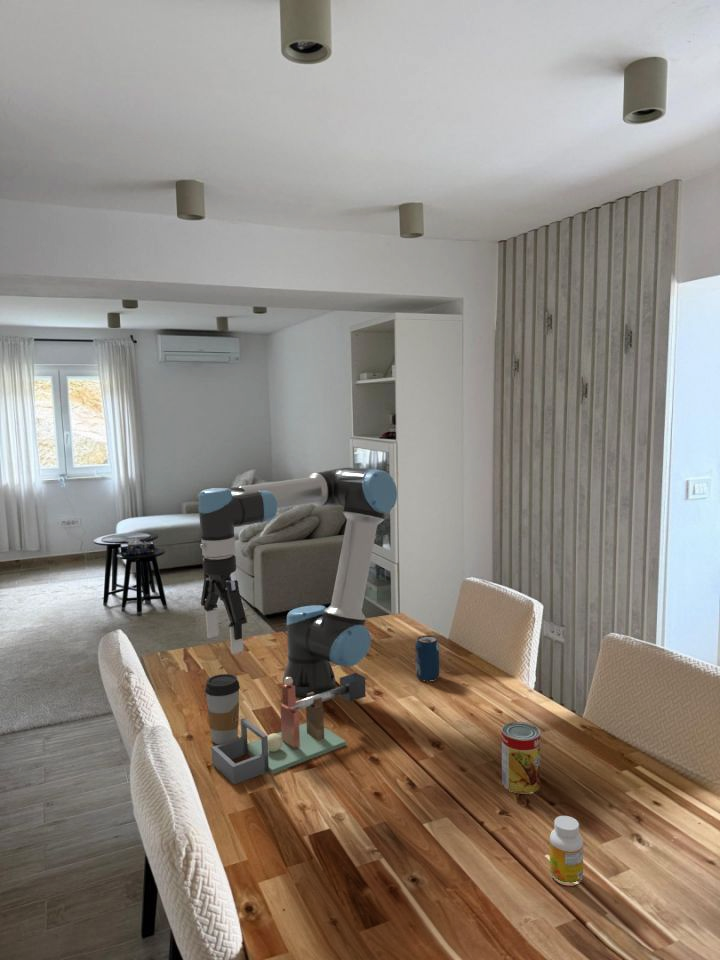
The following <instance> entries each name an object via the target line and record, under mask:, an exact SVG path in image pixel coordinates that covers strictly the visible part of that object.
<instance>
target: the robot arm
mask: <svg viewBox="0 0 720 960" xmlns="http://www.w3.org/2000/svg"><path fill="white" fill-rule="evenodd" d="M397 499H398V490H397V485H396V483H395V481H394V478H393V477H392V476H391V474H390V473H388V472H387V471H384V470H380V469H376V468H360V467H359V468H356V467H340V468H339V467H338V468H334V469H330V470H326V471H325V470H324V471H319V472H313V473H311V474H309V476H308V477H302V478H301V477H300V478H296V479H295V478H294V479H293V478H292V479H286V480H281V481H271V482H265V483H257V484H256V483H255V484H248V485H242V486H241V485H240V486H236V487H235V486H233V487H227V488H225V487H212V488H207V489H204V490H201V491H200V492H199V494H198V509H197V510H198V513H199V516H198V517H199V526H200V528H199V529H200V537H201V544H199V547H200V548H201V552H202V554H201V555H202V556H203V558H202V568H203V569H202V571H203V585H202V593H201V599H200V605H201V606H202V607H203V609H204V611H205V623H206V624H205V625H206V636H207V638H208V639H210V638H214V637H218V636H220V631H219V617H218V609H217V608H218V607H219V606H218V601H222V602H223V605H224V607H225V610H226V614H227V617H228V618H229V622H230V623H228V628H229V637H230V638H229V639H230V642H229V643H230V653H231V654H232V655H234V654H239V653H242V652H244V651H245V650H244V637H243V625H244V624H247V623H248V621H247V616H246V613H245V609H244V605H243V601H242V598H241V593H240V588H239V581H238V580H237V579H235V580H232V576H231V575H232V573H235V572H236V571H237V559H236V557H237V556H236V555H235V553H236V538H235V537H236V536H235V528H237V527H238V528H239V527H243V526H248V525H254V524H263V523H265V522H268V521H271V520H273V519H274V518H276V515H277V512H278V510H282V509H287V508H294V507H299V506H306V505H313V506H315V507H322V506H331V507H332V506H333V507H339V508H340V507H341V508H343V511H342V514H343V515H344V517H345V518H346V522H345V523H346V524H345V528H344V535H343V540H342V545H341V551H340V556H339V560H338V567H337V571H336V577H335V582H334V587H333V593H332V597H331V603H330V605H329V606H328V607H326V606H325V605H320V604H319V605H317V604H313V605H306V606H300V607H296V608H294V609H293V608H292V610H290V611H289V612H288V613H287V615H286V624H285V625H286V636H287V637H286V639H287V641H286V642H287V659H288V660H287V664H286V667H285V671H284V675H283V677H282V685H285V684H284V679H285V678H286V677H291V678H292V679H293V684H292V685H293V686H295V696H297V697H307V696H306V694H307V693H310V692H314V694H315V695H317V694H320V693H323V692H326V691H330V690H333V689H335V686H336V676H335V673H334V670H333V668H332V665H331V664H333V665H335V666H342V667H346V668H350V667H353V666H356V665H357V664H359V663H360V662H361V660H363V659H364V658H365V657H366V655H367V654H368V652H369V650H370V646H371V641H372V640H371V639H372V638H371V637H372V636H371V634H370V631H369V629H368V628H367V627H366V626H365V624H366V620H367V619H366V616H365V615H364V612H363V611H362V610H363V604H364V599H365V594H366V588H367V584H368V577H369V571H370V567H371V562H372V558H373V557H372V556H373V549H374V545H375V540H376V535H377V534H376V533H377V528H378V525H380V524H381V523H382V522H384V520H385V515H386V513H388V512H391V510H392V509H393V508H394V507H395V505H396V503H397Z"/></svg>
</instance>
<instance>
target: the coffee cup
mask: <svg viewBox="0 0 720 960" xmlns="http://www.w3.org/2000/svg"><path fill="white" fill-rule="evenodd" d="M240 686H241V685H240V681H239V680H238V677H237V676H236V675H234V674H232V673H231V674H229V673H224V674H223V673H222V674H217V675H213V676H211V677H209V678H208V679H207V680H206V684H205V686H204V687H205V688H204V693H205V694H206V695H205V696H206V705H207V708H206V709H207V714H208V723H209V728H210V729H209V730H210V737H211V740H212V742H213V743H214V744H216V745H219V744H222V743H225V742H228V741H231V740H234V739H237V738H238V736H239V724H240V723H239V721H240V719H239V718H240V714H239V713H240V700H239V699H240V696H239V695H240V688H241V687H240Z"/></svg>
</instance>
